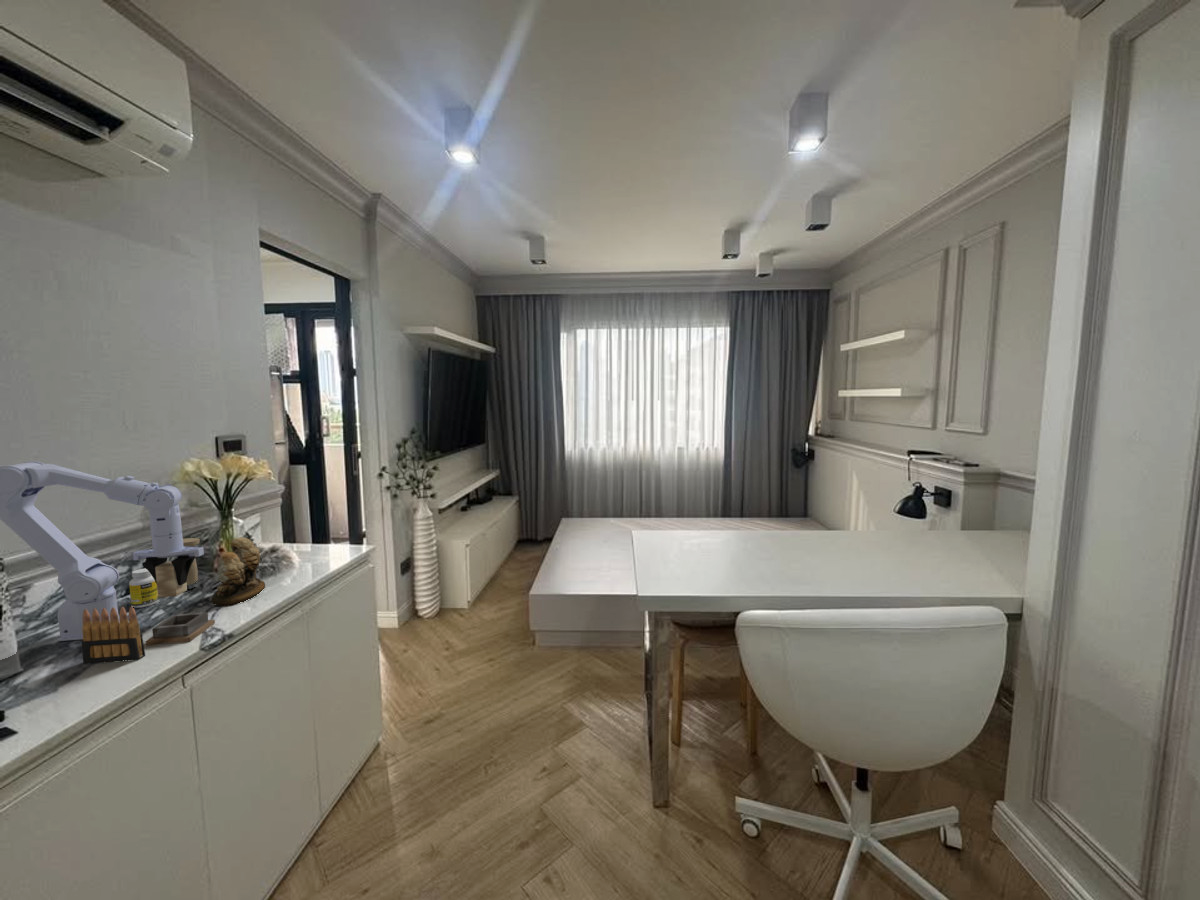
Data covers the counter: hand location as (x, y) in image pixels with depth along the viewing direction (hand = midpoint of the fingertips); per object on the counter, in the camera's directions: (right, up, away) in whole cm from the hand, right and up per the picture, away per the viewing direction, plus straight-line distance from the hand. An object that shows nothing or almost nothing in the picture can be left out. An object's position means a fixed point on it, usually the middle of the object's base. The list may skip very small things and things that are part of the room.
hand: (172, 584), depth 118 cm
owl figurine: (+4, -8, +17) cm, 19 cm away
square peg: (0, -2, 0) cm, 2 cm away
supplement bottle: (-17, -9, +10) cm, 21 cm away
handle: (-14, -8, +21) cm, 26 cm away
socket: (+9, -10, -7) cm, 15 cm away
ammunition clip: (+4, -12, -18) cm, 22 cm away
